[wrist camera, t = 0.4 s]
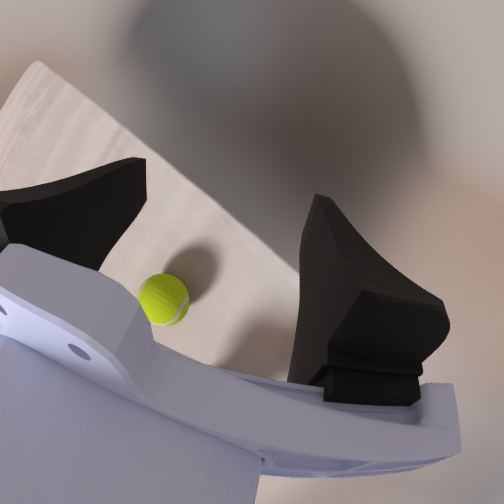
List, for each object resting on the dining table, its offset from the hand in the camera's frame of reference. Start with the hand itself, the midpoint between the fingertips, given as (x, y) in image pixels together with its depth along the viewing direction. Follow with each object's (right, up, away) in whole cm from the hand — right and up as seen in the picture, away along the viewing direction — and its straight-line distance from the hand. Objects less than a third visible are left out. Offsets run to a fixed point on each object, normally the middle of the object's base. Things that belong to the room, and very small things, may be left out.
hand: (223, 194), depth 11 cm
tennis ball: (-10, -8, +27) cm, 30 cm away
